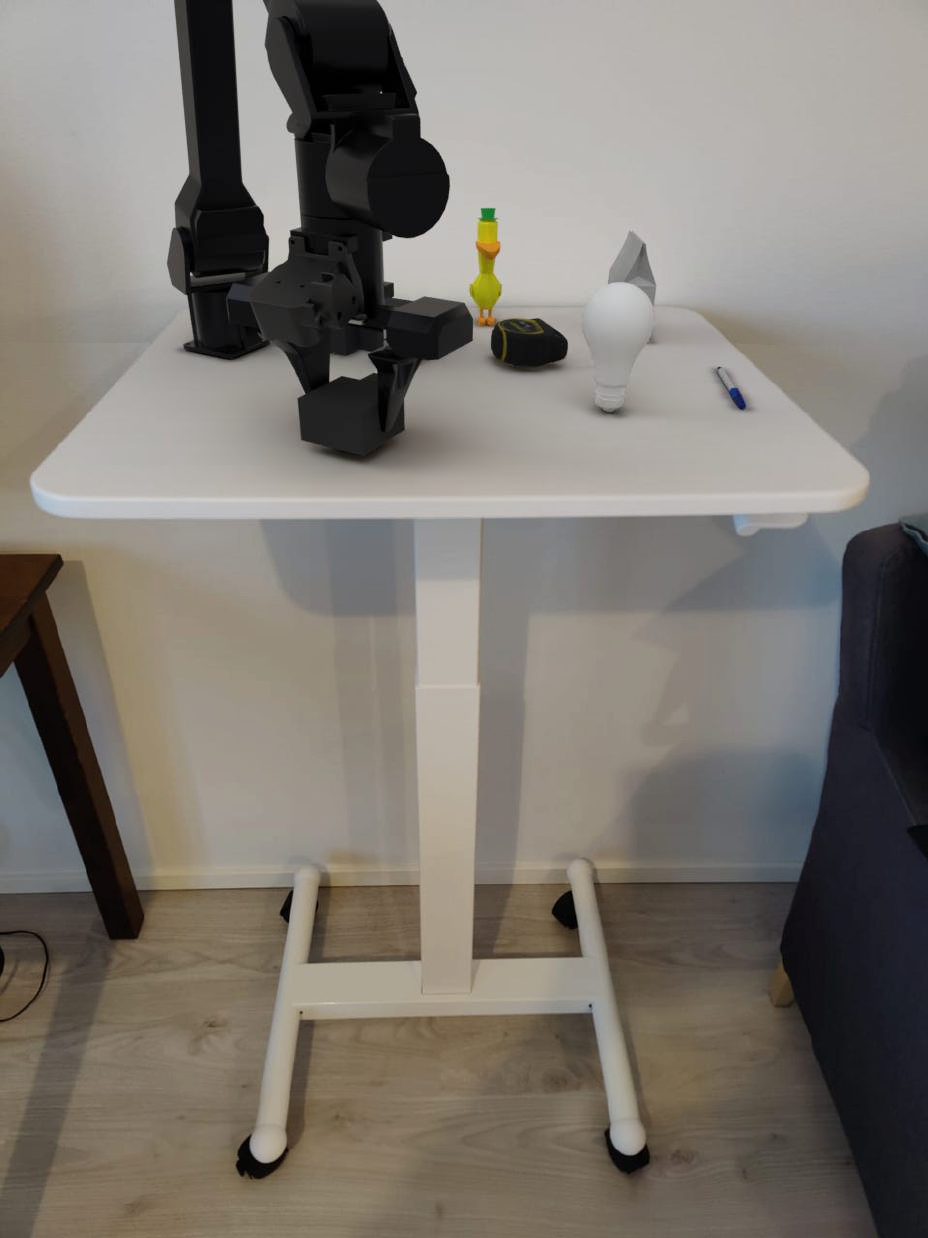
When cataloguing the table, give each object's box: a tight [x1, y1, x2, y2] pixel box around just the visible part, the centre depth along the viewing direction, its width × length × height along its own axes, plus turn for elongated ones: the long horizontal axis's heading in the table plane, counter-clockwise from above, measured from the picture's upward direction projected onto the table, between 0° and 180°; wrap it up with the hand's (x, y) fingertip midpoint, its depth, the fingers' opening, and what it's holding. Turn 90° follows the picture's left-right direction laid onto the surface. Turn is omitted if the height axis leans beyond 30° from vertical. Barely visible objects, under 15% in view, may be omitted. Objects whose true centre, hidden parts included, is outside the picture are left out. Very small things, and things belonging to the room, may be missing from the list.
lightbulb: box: [580, 282, 656, 413], centre depth 79 cm, size 6×6×11 cm
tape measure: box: [490, 317, 569, 368], centre depth 92 cm, size 7×7×4 cm
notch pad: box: [330, 297, 414, 356], centre depth 96 cm, size 11×10×4 cm
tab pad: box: [296, 372, 406, 457], centre depth 74 cm, size 6×8×4 cm
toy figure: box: [468, 207, 503, 327], centre depth 101 cm, size 7×4×12 cm, turn 5°
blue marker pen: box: [716, 366, 747, 410], centre depth 87 cm, size 10×1×1 cm, turn 0°
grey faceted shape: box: [607, 230, 657, 344], centre depth 99 cm, size 4×7×10 cm, turn 3°
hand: (352, 422), depth 73 cm, fingers closed on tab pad, 6 cm apart
